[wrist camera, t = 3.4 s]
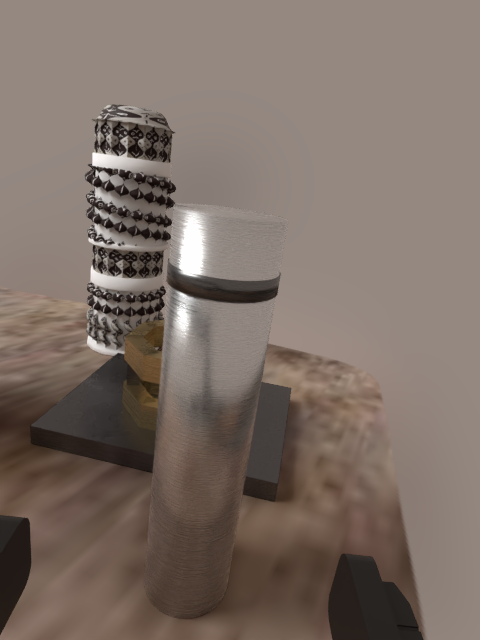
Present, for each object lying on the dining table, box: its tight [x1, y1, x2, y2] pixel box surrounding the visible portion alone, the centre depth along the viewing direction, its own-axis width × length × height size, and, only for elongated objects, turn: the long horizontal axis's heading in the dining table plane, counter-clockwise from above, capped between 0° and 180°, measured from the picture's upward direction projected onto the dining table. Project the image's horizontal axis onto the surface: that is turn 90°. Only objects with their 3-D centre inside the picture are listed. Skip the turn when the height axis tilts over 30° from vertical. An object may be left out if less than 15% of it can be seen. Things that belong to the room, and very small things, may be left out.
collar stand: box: [30, 320, 291, 501], centre depth 35 cm, size 18×14×8 cm
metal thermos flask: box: [144, 204, 288, 619], centre depth 19 cm, size 4×4×19 cm
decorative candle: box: [85, 105, 176, 356], centre depth 46 cm, size 9×9×25 cm
